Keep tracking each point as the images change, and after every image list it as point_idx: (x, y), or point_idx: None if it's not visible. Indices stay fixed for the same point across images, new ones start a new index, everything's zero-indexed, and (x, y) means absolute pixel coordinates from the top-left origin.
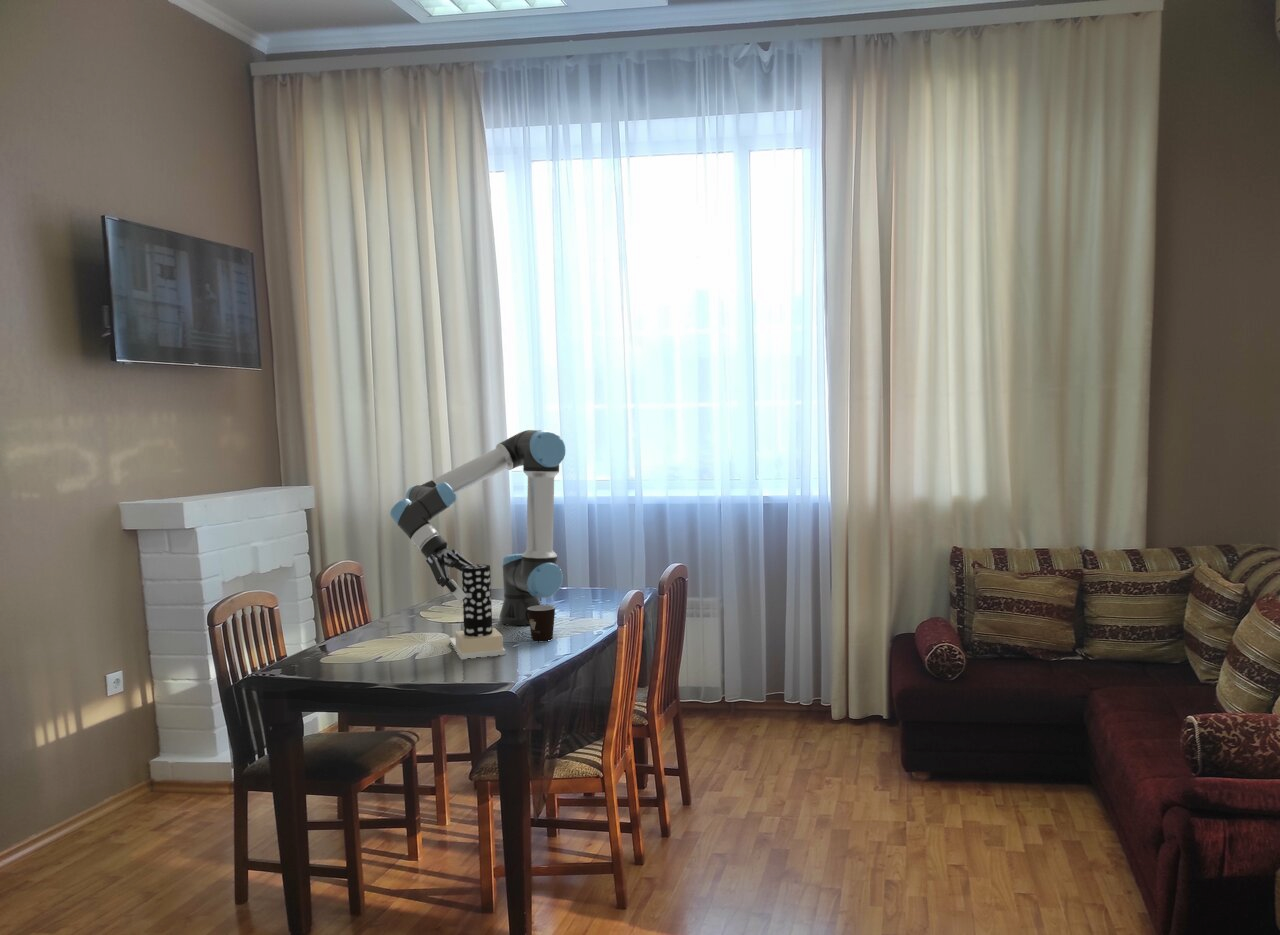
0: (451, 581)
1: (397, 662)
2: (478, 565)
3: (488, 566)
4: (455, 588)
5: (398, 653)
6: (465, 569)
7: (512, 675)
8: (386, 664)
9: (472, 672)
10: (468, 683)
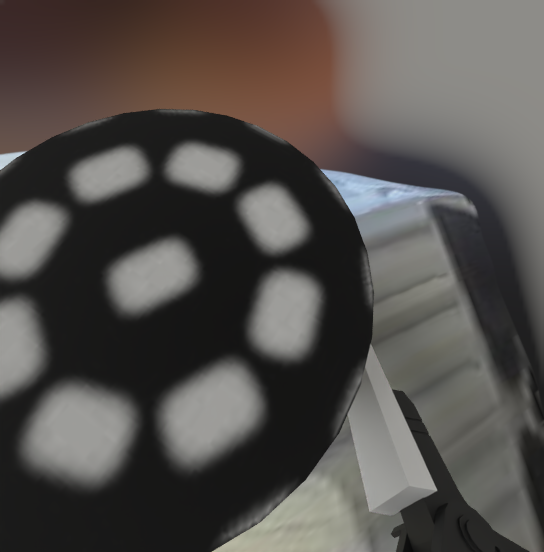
0: (419, 472)
1: (362, 481)
2: (28, 275)
3: (154, 121)
4: (394, 394)
5: (281, 531)
6: (358, 375)
7: (391, 212)
8: None
9: (393, 278)
10: (453, 261)
